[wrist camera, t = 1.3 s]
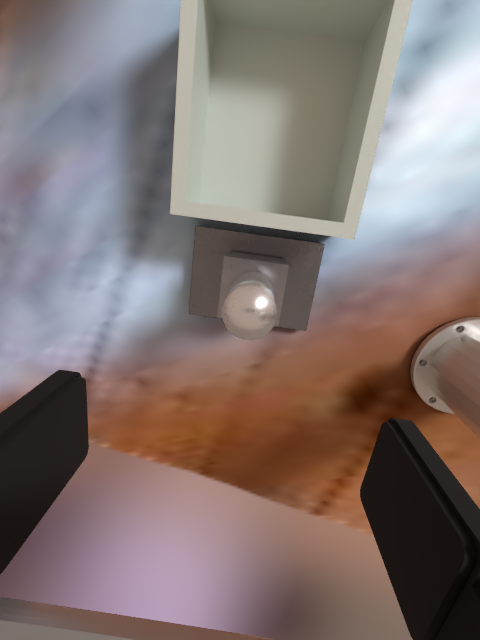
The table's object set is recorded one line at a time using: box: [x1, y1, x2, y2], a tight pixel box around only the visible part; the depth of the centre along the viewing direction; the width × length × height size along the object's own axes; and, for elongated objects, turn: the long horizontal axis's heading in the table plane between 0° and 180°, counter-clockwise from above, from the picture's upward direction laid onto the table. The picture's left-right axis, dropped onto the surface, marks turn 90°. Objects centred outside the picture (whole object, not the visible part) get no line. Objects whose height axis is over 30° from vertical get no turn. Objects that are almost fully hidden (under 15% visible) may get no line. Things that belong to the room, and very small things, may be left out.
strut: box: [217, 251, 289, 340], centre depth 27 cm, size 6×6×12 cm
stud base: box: [189, 226, 325, 331], centre depth 32 cm, size 14×10×6 cm
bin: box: [170, 0, 413, 239], centre depth 27 cm, size 16×18×8 cm
